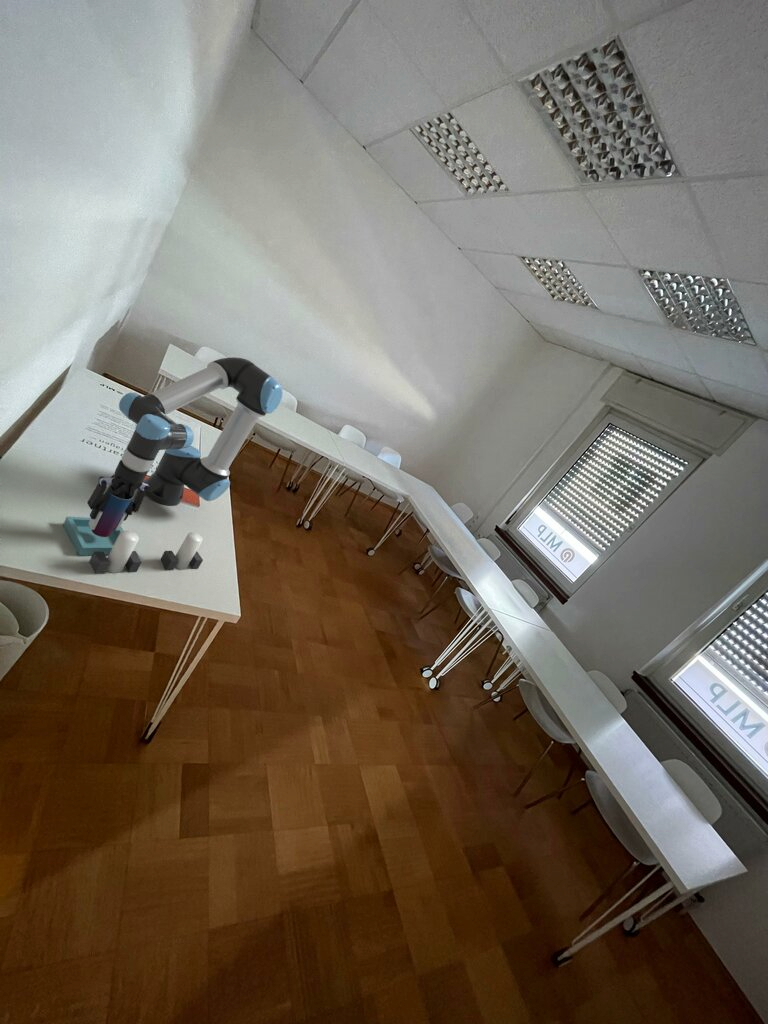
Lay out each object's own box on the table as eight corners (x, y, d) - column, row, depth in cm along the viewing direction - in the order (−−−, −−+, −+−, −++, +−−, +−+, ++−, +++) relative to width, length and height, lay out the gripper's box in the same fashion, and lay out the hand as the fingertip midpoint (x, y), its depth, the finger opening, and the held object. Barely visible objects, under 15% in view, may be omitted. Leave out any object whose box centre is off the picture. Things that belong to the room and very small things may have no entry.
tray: (112, 526, 137) (116, 519, 136) (129, 555, 131) (133, 547, 130) (62, 524, 125) (66, 516, 124) (78, 556, 119) (82, 547, 118)
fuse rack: (191, 559, 147) (206, 532, 144) (197, 568, 145) (213, 542, 142) (88, 562, 119) (105, 529, 116) (94, 574, 117) (111, 541, 114)
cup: (118, 532, 131) (137, 494, 127) (106, 542, 125) (126, 502, 121) (96, 521, 129) (115, 482, 125) (83, 530, 123) (102, 490, 119)
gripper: (161, 463, 130) (130, 520, 136) (93, 451, 114) (62, 517, 120) (171, 477, 127) (140, 535, 133) (103, 467, 110) (71, 534, 117)
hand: (103, 527), depth 126 cm, fingers closed on cup, 6 cm apart
